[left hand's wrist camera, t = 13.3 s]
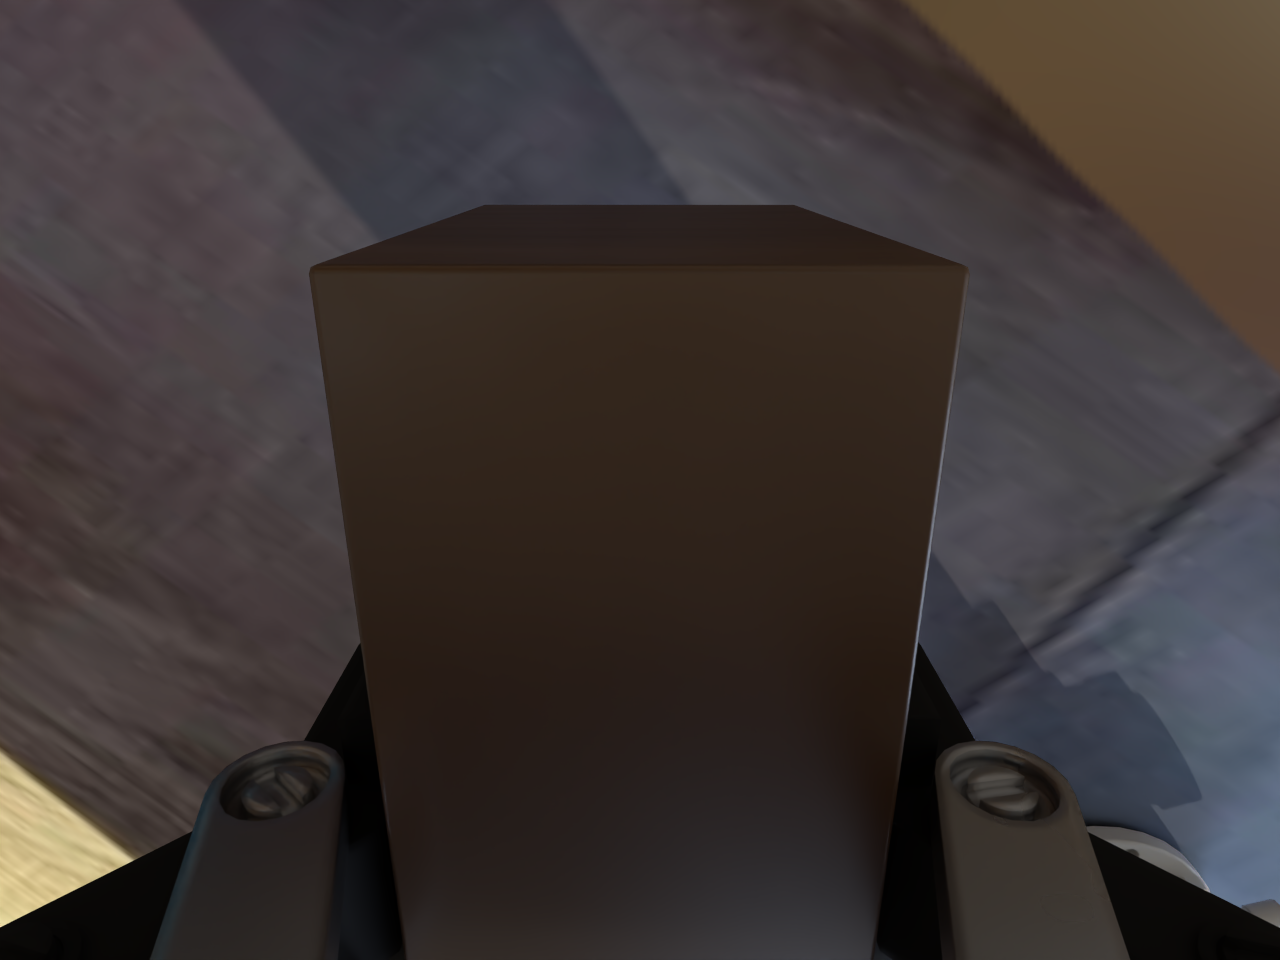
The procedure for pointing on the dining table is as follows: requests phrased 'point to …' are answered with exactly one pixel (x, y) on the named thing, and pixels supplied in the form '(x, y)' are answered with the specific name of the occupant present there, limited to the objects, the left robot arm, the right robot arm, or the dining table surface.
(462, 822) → the post
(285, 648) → the dining table surface
